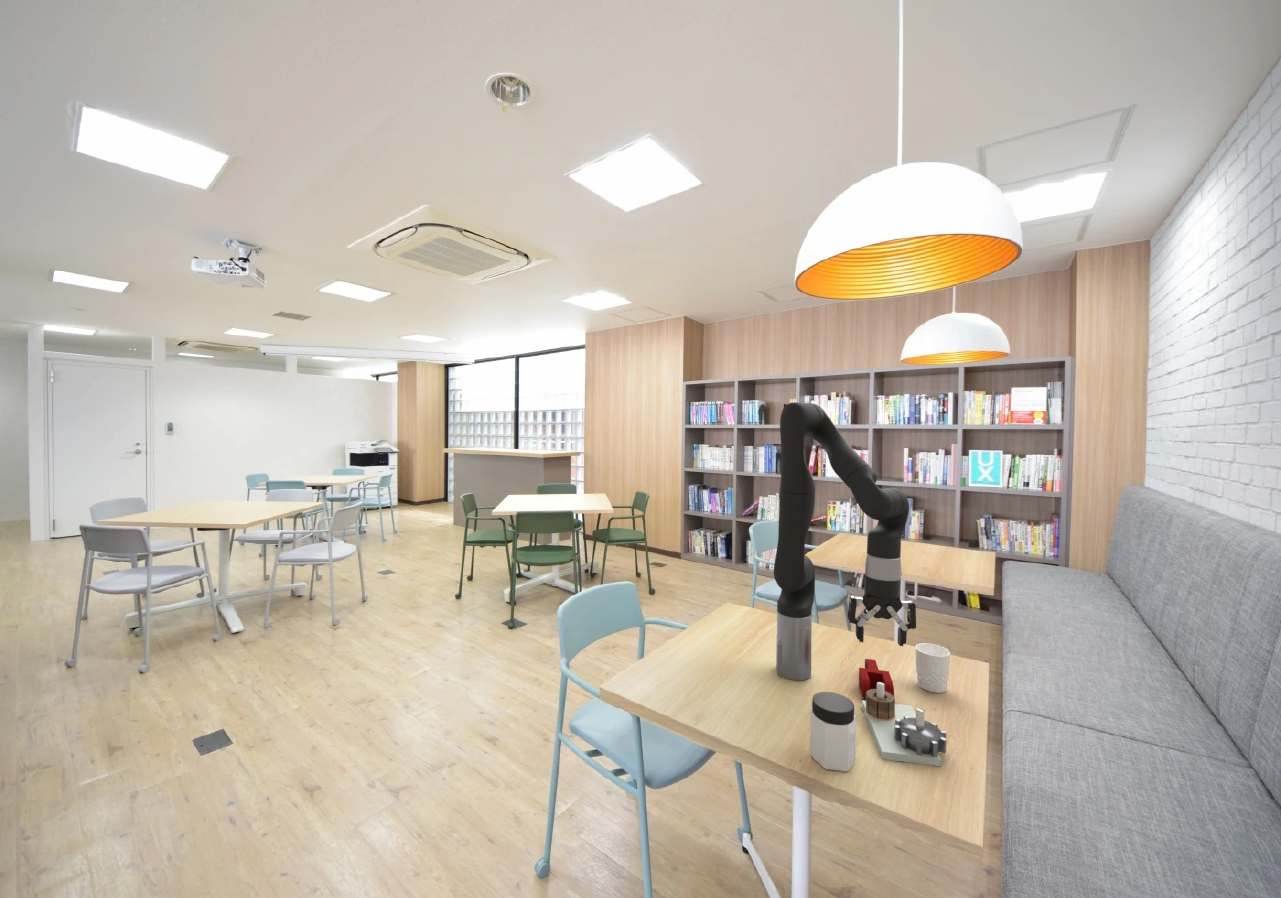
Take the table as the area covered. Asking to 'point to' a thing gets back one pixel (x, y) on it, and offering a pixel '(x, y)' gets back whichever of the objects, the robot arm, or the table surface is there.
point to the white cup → (932, 667)
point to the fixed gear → (920, 734)
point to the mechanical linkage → (874, 678)
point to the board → (885, 735)
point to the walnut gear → (880, 705)
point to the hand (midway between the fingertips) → (880, 642)
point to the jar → (833, 731)
